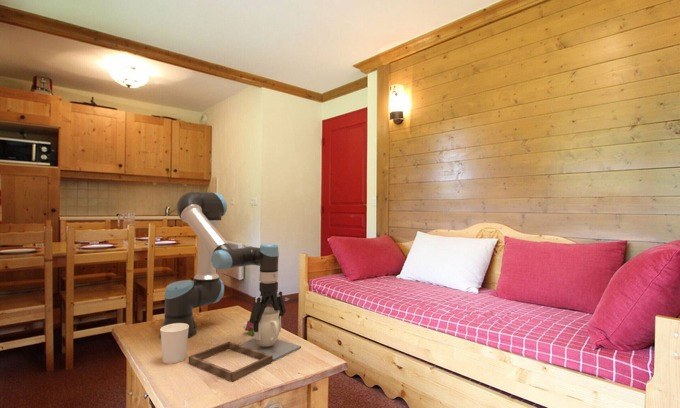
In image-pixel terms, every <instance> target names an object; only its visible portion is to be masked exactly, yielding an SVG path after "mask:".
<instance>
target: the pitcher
mask: <svg viewBox="0 0 680 408" xmlns="http://www.w3.org/2000/svg"><path fill="white" fill-rule="evenodd" d="M279 312H280V311H279V310H278V311H275V310H274V308H273V306H272V307H270V306H267V307H266V308H265V310H264V312H263V315H262V317H261V319H260V322H259V323H261V338H260V340H256V339H255V340H256V342H257V344H258V345H259V346H271V345H273V344H274V343H275V342H276V340H277V339H279V335H280V332H279V331H280V321H279ZM253 325H254V324H253ZM253 335H254V331H253Z"/></svg>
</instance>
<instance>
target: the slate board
mask: <svg viewBox="0 0 680 408" xmlns="http://www.w3.org/2000/svg"><path fill="white" fill-rule="evenodd" d="M238 345H241V346H245V347H248V348H251V349H254V350H257V351H260V352H263V353H266V354H269V355H272V362H275V361H277V360H279V359H282V358H284V357H286V356H288V355H290V354H292V353H295V352H296V351H298V350H300V349H302V345H299V344H296V343H292V342H289V341H285V340H281V339H279V338H277V340H276V342H275V343H274V344H273V345H271V346H259V345H258V344H257V342H256V340H255V339H254V338H252V339H250V340H248V341H244V342H242V343H239V344H238Z"/></svg>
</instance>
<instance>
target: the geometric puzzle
mask: <svg viewBox="0 0 680 408" xmlns="http://www.w3.org/2000/svg"><path fill="white" fill-rule="evenodd" d="M243 330H244V331H245V332H246V333H247V334H248V335H250V336H251V337H252V336H253V337H254V334H253V323H251V322H249V320H247V321H245V322H244V324H243Z"/></svg>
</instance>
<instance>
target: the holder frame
mask: <svg viewBox="0 0 680 408" xmlns="http://www.w3.org/2000/svg"><path fill="white" fill-rule="evenodd" d="M229 350H230V351H232V352H235V353H238V354H241V355H244V356H247V357H250V358H253V359H257V360H256V361H254V362H251V363H249V364H247V365H245V366H243V367H241V368H238V369H236V370H234V371H232V370H229V369H227V368H224V367H221V366H220V365H217V364H215V363H212V362H209V361H207V360H205V359H208V358H210V357H213V356H215V355H218V354H220V353H223V352H225V351H229ZM272 363H273V361H272V355H269V354H266V353H263V352H260V351H257V350H254V349H251V348H248V347H245V346H241V345H239V344H238V343H235V342H232V341H227V342H223V343H222V344H218V345H216V346H213V347H211V348H208V349H205V350H203V351H200V352H198V353H195V354H192V355H189V356H188V363H187V364H189V365H191V366H194V367H196V368H199V369H201V370H203V371H206V372H208V373H210V374H213V375H215V376H218V377H220V378H223V379H224V380H227V381H229V382H232V383H233V382H235V381H237V380H239V379H241V378H244V377H246V376H248V375H250V374H252V373H254V372H256V371H257V370H260V369H262V368H264V367H266V366H268V365H270V364H272Z"/></svg>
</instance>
